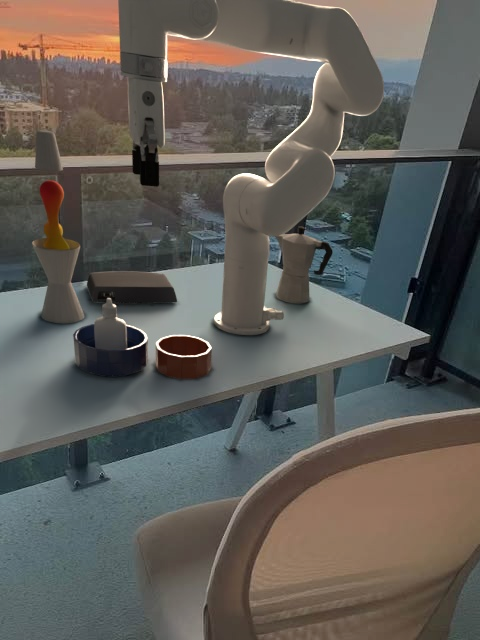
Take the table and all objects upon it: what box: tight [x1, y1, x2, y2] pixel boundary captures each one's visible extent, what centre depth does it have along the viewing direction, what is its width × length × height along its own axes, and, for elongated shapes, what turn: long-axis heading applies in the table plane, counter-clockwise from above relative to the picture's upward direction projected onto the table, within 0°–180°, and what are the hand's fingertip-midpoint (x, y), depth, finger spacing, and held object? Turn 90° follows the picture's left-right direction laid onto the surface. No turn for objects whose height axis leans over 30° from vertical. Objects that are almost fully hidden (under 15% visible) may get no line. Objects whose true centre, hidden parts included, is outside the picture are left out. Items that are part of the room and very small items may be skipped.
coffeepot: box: [274, 226, 333, 305], centre depth 158 cm, size 15×9×18 cm, turn 72°
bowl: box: [72, 323, 149, 378], centre depth 116 cm, size 13×13×6 cm
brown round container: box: [154, 334, 213, 380], centre depth 119 cm, size 10×10×4 cm
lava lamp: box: [31, 129, 86, 324], centre depth 123 cm, size 9×9×35 cm
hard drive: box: [86, 270, 178, 304], centre depth 147 cm, size 13×19×4 cm
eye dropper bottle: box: [93, 298, 127, 350], centre depth 114 cm, size 4×6×12 cm
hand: (145, 179), depth 113 cm, fingers open, 9 cm apart
